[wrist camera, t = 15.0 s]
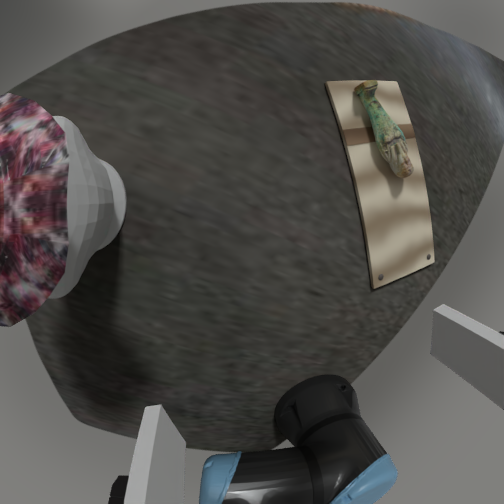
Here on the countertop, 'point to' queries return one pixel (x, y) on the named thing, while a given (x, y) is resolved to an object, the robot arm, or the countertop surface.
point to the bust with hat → (49, 206)
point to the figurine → (385, 131)
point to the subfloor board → (385, 185)
